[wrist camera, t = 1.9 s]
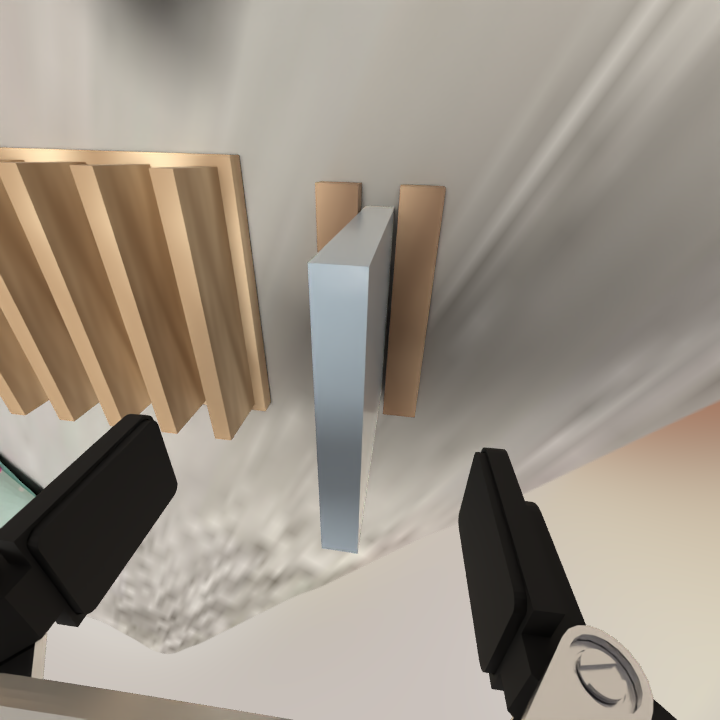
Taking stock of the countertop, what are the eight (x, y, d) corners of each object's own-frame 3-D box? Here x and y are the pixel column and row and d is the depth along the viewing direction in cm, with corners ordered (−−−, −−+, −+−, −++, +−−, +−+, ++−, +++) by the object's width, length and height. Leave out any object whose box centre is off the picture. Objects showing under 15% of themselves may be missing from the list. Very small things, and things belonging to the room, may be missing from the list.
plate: (394, 206, 17) (369, 266, 8) (381, 389, 23) (357, 553, 13) (366, 205, 17) (307, 262, 8) (360, 387, 23) (321, 548, 13)
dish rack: (238, 155, 17) (186, 154, 13) (270, 402, 24) (243, 447, 21) (-48, 146, 19) (-169, 142, 15) (65, 380, 26) (5, 418, 22)
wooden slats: (443, 186, 16) (445, 188, 15) (414, 405, 23) (414, 417, 22) (321, 181, 17) (315, 182, 16) (326, 396, 24) (322, 407, 22)
